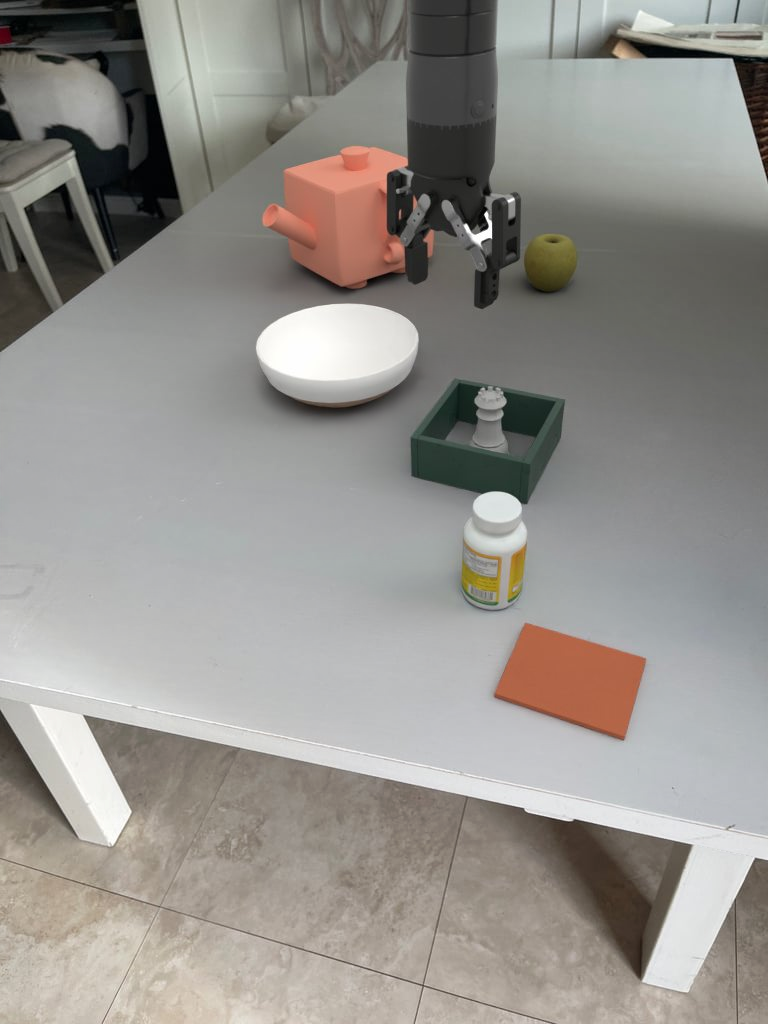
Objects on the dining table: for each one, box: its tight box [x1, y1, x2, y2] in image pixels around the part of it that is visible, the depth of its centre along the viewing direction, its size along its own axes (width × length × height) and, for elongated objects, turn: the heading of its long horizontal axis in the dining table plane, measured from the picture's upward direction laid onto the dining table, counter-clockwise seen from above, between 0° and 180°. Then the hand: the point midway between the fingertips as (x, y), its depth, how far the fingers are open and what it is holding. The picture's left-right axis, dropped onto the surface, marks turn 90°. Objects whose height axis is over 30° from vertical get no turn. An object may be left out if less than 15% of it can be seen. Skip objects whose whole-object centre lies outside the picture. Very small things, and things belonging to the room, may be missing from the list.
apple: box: [523, 233, 579, 293], centre depth 117 cm, size 8×8×7 cm
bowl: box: [255, 303, 420, 408], centre depth 98 cm, size 20×20×6 cm
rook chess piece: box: [467, 385, 510, 455], centre depth 85 cm, size 4×4×8 cm
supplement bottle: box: [460, 492, 528, 611], centre depth 68 cm, size 5×5×10 cm
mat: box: [493, 622, 647, 741], centre depth 63 cm, size 10×8×1 cm
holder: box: [409, 378, 566, 505], centre depth 85 cm, size 13×13×5 cm
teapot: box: [262, 145, 435, 290], centre depth 120 cm, size 25×23×18 cm
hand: (449, 293), depth 77 cm, fingers open, 8 cm apart
